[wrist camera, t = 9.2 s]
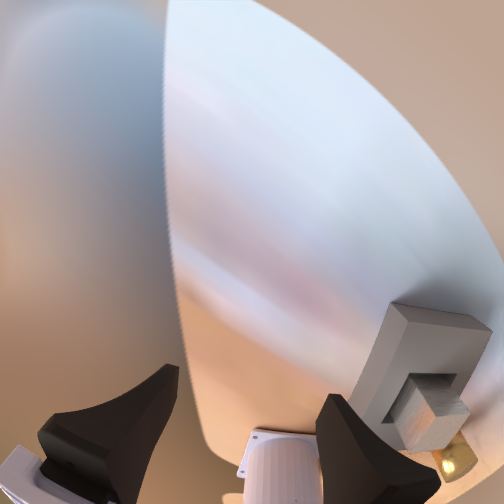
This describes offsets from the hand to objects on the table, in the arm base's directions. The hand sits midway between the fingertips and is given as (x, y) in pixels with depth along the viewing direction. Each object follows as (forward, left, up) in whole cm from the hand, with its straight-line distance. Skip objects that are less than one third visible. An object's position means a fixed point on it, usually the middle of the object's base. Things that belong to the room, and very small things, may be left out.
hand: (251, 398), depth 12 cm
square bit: (-4, -15, -8) cm, 18 cm away
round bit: (-13, -26, -9) cm, 31 cm away
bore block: (-4, -15, -9) cm, 18 cm away
